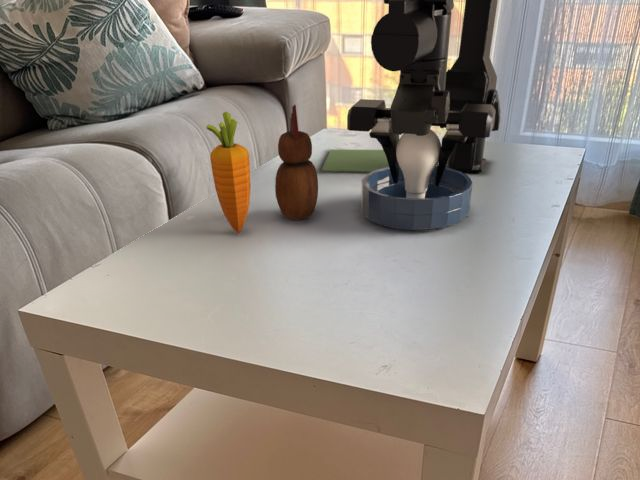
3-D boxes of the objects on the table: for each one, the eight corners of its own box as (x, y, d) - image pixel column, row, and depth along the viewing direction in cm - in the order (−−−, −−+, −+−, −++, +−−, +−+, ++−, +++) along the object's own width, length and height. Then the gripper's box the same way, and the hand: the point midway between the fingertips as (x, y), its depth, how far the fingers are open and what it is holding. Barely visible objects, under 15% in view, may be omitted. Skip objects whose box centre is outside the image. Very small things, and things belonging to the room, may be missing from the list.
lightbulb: (443, 206, 92) (450, 124, 85) (425, 220, 88) (431, 135, 81) (405, 199, 94) (409, 119, 87) (385, 212, 90) (389, 129, 83)
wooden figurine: (313, 225, 89) (308, 108, 79) (273, 223, 90) (264, 107, 80) (322, 208, 94) (319, 96, 84) (284, 206, 95) (277, 95, 85)
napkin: (330, 151, 116) (330, 149, 116) (396, 152, 115) (396, 150, 115) (321, 171, 107) (321, 170, 107) (392, 172, 106) (392, 171, 105)
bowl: (375, 191, 99) (376, 161, 96) (474, 199, 95) (478, 168, 92) (349, 227, 88) (349, 194, 85) (459, 237, 84) (463, 203, 81)
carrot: (241, 242, 85) (228, 121, 75) (212, 235, 87) (196, 116, 77) (263, 229, 88) (253, 111, 78) (235, 223, 90) (221, 108, 81)
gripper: (334, 66, 75) (335, 198, 85) (494, 71, 71) (476, 210, 80) (358, 51, 84) (357, 173, 93) (503, 54, 79) (486, 182, 89)
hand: (416, 184), depth 89 cm, fingers closed on lightbulb, 5 cm apart
